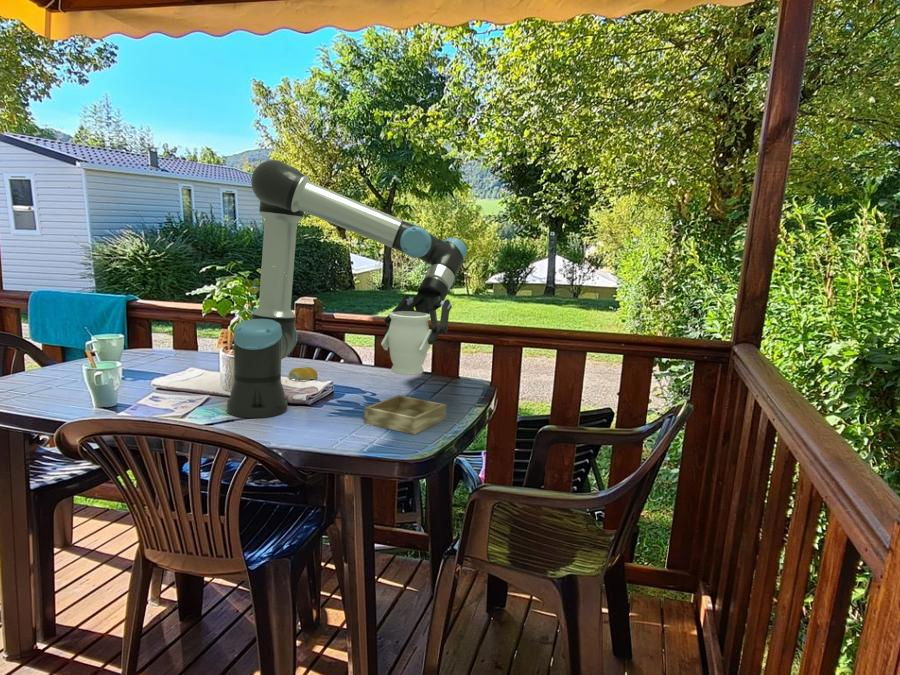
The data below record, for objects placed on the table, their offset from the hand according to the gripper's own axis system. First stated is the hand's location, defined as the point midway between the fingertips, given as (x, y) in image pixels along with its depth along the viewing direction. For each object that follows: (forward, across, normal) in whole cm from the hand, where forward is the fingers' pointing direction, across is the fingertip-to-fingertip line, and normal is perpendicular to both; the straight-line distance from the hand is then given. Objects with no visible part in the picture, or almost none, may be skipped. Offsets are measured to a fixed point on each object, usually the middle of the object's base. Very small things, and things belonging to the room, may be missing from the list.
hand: (402, 350), depth 146 cm
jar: (+2, 0, -6) cm, 7 cm away
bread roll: (-1, +51, -29) cm, 59 cm away
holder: (+11, 0, -16) cm, 19 cm away
